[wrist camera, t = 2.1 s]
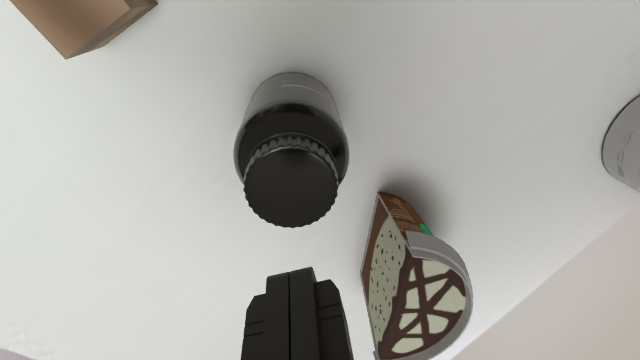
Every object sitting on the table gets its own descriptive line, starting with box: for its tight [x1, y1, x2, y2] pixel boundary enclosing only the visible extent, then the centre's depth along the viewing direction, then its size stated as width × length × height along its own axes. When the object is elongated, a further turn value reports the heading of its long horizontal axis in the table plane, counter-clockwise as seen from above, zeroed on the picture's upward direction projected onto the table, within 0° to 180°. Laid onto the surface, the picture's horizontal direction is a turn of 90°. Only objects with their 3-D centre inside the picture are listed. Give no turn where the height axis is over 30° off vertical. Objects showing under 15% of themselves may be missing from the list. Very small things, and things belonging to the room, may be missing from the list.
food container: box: [360, 192, 473, 360], centre depth 31 cm, size 12×6×10 cm, turn 173°
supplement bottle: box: [234, 73, 349, 228], centre depth 24 cm, size 7×7×12 cm
